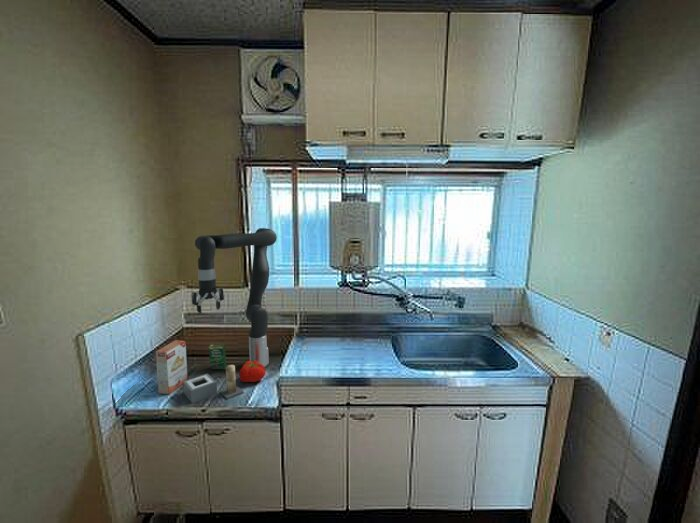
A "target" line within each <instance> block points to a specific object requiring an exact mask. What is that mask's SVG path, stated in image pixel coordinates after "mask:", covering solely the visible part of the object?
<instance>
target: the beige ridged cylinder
mask: <svg viewBox="0 0 700 523" xmlns="http://www.w3.org/2000/svg"><path fill="white" fill-rule="evenodd" d="M225 377H226V378H225V380H226V388H227V393H234V392H236V385H237V380H236V365H234V364H229V365H226V368H225Z"/></svg>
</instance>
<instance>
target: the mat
mask: <svg viewBox="0 0 700 523" xmlns="http://www.w3.org/2000/svg"><path fill="white" fill-rule="evenodd" d="M219 393H220V394H221V396H223V397H224V398H225V399H226V400H230V399H232V398H235V397H237V396H241V395H242V394H244V393H245V391H244V390H243V389H242V388H241V387H239V385H238V384H236V392H234V393H227V387H226V388H224V389H222V390H219ZM229 398H230V399H229Z"/></svg>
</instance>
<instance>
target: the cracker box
mask: <svg viewBox="0 0 700 523" xmlns="http://www.w3.org/2000/svg"><path fill="white" fill-rule="evenodd" d="M186 343H187V342H186V341H185V340H178V339H177V340H176V339H175V340H173V341H171V342H169V344H166V345H164V346H163V347H161V348H159V349H157V350H155V362H156V375H157V388H158V389H157V390H158V394H162V395H171V394H172V393H173V392H174V391H175V390H177V389H178V388H179V387H181V386H182V385H183V381H186V380H189V379H188V363H187V361H188V360H187V346H186Z"/></svg>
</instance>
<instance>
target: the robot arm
mask: <svg viewBox="0 0 700 523" xmlns="http://www.w3.org/2000/svg"><path fill="white" fill-rule="evenodd" d="M277 237H278V236H277V234H276V232H275V231H274V230H273V229H270V228H266V227H261V228H257V230H256V231H255V232H251V233H249V232H248V233H225V234H217V235H215V234H214V235H200V236H198V237H197V238H196V239H195V240H194V246H195V247H196V249H198V250H199V257H198V258H197V267H198V268H197V270H198V271H197V273H198V274H197V275H198V276H197V278H198V291H192V293H191V304H192V305H194V306H196V311H197V313H198V314H201V313H202V304H203V302H204V301H205V300H206V301H208V300H212V299H213V300H215V308H216V310H220V309H221V302H222V301H224V300H225V295H224V294H225V293H224V289H223V288H222V287H218V288H217V282H216V277H217V275H216V270H215V255H216V250H217V249H219V250H225V249H227V250H228V249H233V248H235V249H236V248H240V247H241V248H242V247H249V246H253V259H252V268H251V276H250V285H249V286H250V287H249V296H248V300H247V301H248V302H247V306H246V309H245V310H246V311H245V316H246V319H247V320H248V321H249V322H250V328H251V329H249V330H248V350H249V361H251V362H252V361H258V362H259V363H261V364H262V365H263V366H264V368H265V367H266V366H267V365H269V364H270V362H269V361H270V360H269V359H270V356H269V353H270V352H269V347H268V345H267V344H268V343H267V331H268V325H269V324H268V323H269V322H268V320H269V318H268V317H269V315H268V311H267V310H266V309H265V308H264V307H262V301H263V296H264V293H265V291H266V289H267V287H268V284H269V279H270V266H269V261H268V258H267V256H268V255H267V254H268V252H267V251H268V247H271V246H273V245H274V244H276V242H277ZM217 292H218V295H219V297H218V296H217V295H216V294H217ZM198 296H199V297H198ZM197 297H198V300H197Z"/></svg>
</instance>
